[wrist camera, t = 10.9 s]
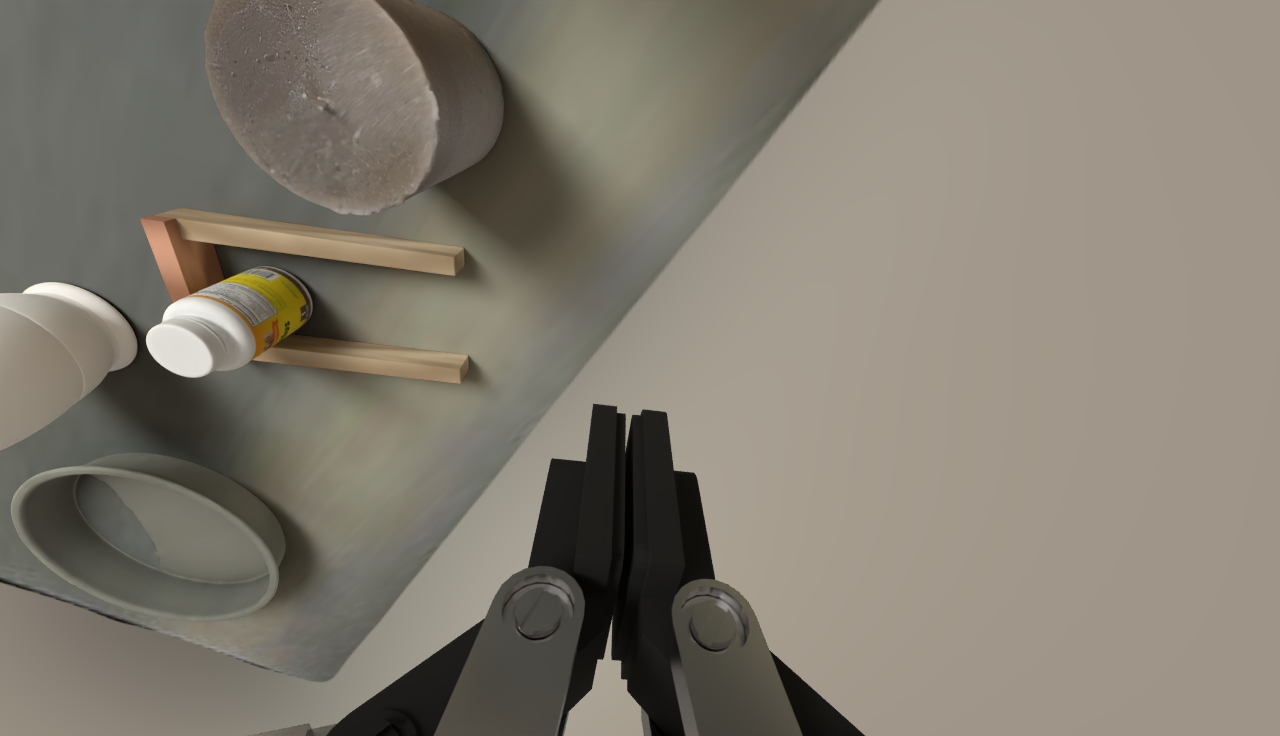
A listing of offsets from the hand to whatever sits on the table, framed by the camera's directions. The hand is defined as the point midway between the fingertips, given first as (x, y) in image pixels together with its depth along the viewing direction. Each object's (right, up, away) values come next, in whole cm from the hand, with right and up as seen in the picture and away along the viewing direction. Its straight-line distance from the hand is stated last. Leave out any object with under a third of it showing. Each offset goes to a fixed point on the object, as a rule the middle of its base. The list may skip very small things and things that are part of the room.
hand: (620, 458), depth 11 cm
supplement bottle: (-30, +8, +28) cm, 42 cm away
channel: (-25, +8, +28) cm, 39 cm away
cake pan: (-51, -15, +42) cm, 68 cm away
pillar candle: (-14, +21, +21) cm, 33 cm away
